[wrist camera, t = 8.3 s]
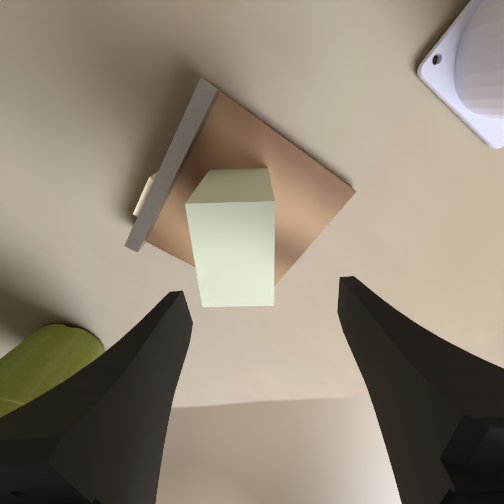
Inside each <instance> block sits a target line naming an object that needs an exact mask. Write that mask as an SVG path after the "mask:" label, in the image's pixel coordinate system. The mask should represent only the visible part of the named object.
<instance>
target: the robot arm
mask: <svg viewBox="0 0 504 504" xmlns="http://www.w3.org/2000/svg"><path fill="white" fill-rule="evenodd" d="M435 55H437V57H438V60H437V62H436V64H435V65H434V64H433V63H432V59H433V57H434V56H435ZM417 75H418V77H419V78H420V79H421V80H422V81H423V82H424V83H425V84H426V85H427V86H428V87H429V88H430V89H431V90H432V91H433V92H434V93H435V94H436V95H437V96H438V97H439V98H440V99H441V100H442V101H443V102H444V103H445V104H446V105H447V106H448V107H449V108H450V109H451V110H452V111H454V112H455V113H456V114H457V115H458V116H459V117H460V118H461V119H462V120H463V121H464V122H465V123H466V124H467V125H468V126H469V127H470V128H471V129H472V130H473V131H474V132H475V133H476V134H477V135H478V136H479V137H480V138H481V139H482V140H483V141H484V142H485V143H486V144H487V145H488V146H489V147H491V148H495V149H496V148H501V147H503V146H504V0H470V2H469V3H468V4H467V5H466V7H465V8H464V9H463V10H462V12H461V13H460V14H459V15H458V17H457V18H456V19H455V20H454V22H453V23H452V24H451V26H450V27H449V28H448V29H447V31H446V32H445V33H444V34H443V36H442V37H441V38H440V39H439V41H438V42H437V43H436V44H435V46H434V47H433V48H432V50H431V51H430V52H429V53H428V55H427V56H426V57H425V58H424V60H423V61H422V62H421V63H420V65H419V67H418V70H417ZM338 315H339V319H340V322H341V326H342V329H343V332H344V335H345V337H346V339H347V342H348V344H349V346H350V349H351V351H352V353H353V356H354V358H355V360H356V362H357V365H358V367H359V369H360V372H361V374H362V376H363V378H364V381H365V383H366V386H367V389H368V391H369V394H370V397H371V401H372V403H373V407H374V409H375V412H376V416H377V419H378V422H379V426H380V429H381V432H382V435H383V438H384V442H385V445H386V449H387V452H388V455H389V459H390V462H391V466H392V469H393V473H394V476H395V480H396V484H397V487H398V491H399V495H400V498H401V502H402V504H504V369H503V368H501V367H499V366H497V365H494V364H492V363H490V362H488V361H485V360H483V359H481V358H479V357H477V356H475V355H473V354H471V353H469V352H467V351H465V350H463V349H461V348H459V347H457V346H455V345H453V344H451V343H449V342H447V341H446V340H444V339H442V338H440V337H438V336H437V335H435V334H433V333H431V332H430V331H428V330H426V329H425V328H423V327H421V326H420V325H418V324H417V323H415V322H413V321H412V320H410V319H409V318H408V317H406V316H405V315H403V314H402V313H400V312H399V311H397V310H396V309H395V308H393V307H392V306H391V305H389V304H388V303H387V302H385V301H384V300H383V299H381V298H380V297H379V296H377V295H376V294H375V293H374V292H373V291H371V290H370V289H369V288H368V287H366V286H365V285H364V284H363V283H362V282H360V281H359V280H358V279H357V278H355V277H354V276H350V277H340V281H339V297H338ZM192 325H193V322H192V319H191V315H190V312H189V309H188V306H187V303H186V300H185V296H184V293H183V291H174V292H169V293H168V294H167V295H166V296H165V297H164V298H163V299H162V300H161V301H160V302H159V303H158V304H157V305H156V306H155V307H154V308H153V309H152V310H151V311H150V312H149V313H148V314H147V315H146V316H145V317H144V318H143V319H142V320H141V321H140V322H139V323H138V324H137V325H136V326H135V327H133V328H132V329H131V330H130V331H129V332H128V333H127V334H126V335H125V336H124V337H122V338H121V339H120V340H119V341H118V342H117V343H116V344H114V345H113V346H112V347H111V348H109V349H108V350H107V351H106V352H104V353H103V354H102V355H100V356H99V357H98V358H97V359H95V360H94V361H92V362H91V363H90V364H88V365H87V366H85V367H84V368H82V369H81V370H80V371H78V372H77V373H75V374H74V375H72V376H71V377H69V378H68V379H66V380H65V381H63V382H62V383H60V384H58V385H57V386H55V387H54V388H52V389H50V390H49V391H47V392H45V393H44V394H42V395H40V396H39V397H37V398H35V399H33V400H32V401H30V402H28V403H26V404H25V405H23V406H21V407H19V408H17V409H15V410H13V411H12V412H10V413H8V414H6V415H4V416H2V417H1V418H0V504H155V502H156V494H157V487H158V480H159V473H160V466H161V461H162V454H163V448H164V443H165V437H166V431H167V426H168V421H169V416H170V411H171V406H172V401H173V397H174V393H175V389H176V386H177V383H178V380H179V376H180V373H181V370H182V367H183V363H184V360H185V357H186V353H187V350H188V347H189V343H190V338H191V332H192Z"/></svg>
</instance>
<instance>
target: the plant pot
mask: <svg viewBox="0 0 504 504" xmlns="http://www.w3.org/2000/svg"><path fill="white" fill-rule="evenodd" d="M104 352H105V351H104V348H103V346H102V344H101V343H100V341H99V340H98V339H97V338H96V337H94V336H93V335H92V334H90V333H89V332H87V331H85V330H83V329H81V328H71V327H67V326H65V325H64V324H51V325H47V326H44V327H42V328H40V329H39V330H37V331H36V332H35V333H33V334H32V335H31V336H29V337H28V338H27V339H25V340H24V341H23V342H22V343H20V344H19V345H18V346H16V347H15V348H14V349H13V350H11V351H10V352H9V353H7V354H6V355H5V356H4V357H2V358H1V359H0V418H1V417H2V416H4V415H6V414H8V413H10V412H12V411H13V410H15V409H17V408H19V407H21V406H23V405H25V404H26V403H28V402H30V401H32V400H33V399H35V398H37V397H39V396H40V395H42V394H44V393H45V392H47V391H49V390H50V389H52V388H54V387H55V386H57V385H58V384H60V383H62V382H63V381H65V380H66V379H68V378H69V377H71V376H72V375H74V374H75V373H77V372H78V371H80V370H81V369H82V368H84V367H85V366H87V365H88V364H90V363H91V362H92V361H94V360H95V359H97V358H98V357H99V356H100V355H102V354H103V353H104Z"/></svg>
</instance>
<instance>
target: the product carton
mask: <svg viewBox="0 0 504 504" xmlns="http://www.w3.org/2000/svg"><path fill="white" fill-rule="evenodd" d="M185 207H186V213H187V219H188V225H189V231H190V237H191V243H192V249H193V255H194V261H195V267H196V273H197V279H198V284H199V290H200V296H201V302H202V307H224V306H274V255H275V198H274V193H273V188H272V184H271V179H270V174H269V169H268V168H252V169H220V170H209V171H208V173H207V174H206V175H205V177H204V178H203V179H202V181H201V182H200V184H199V185H198V186H197V188H196V189H195V190H194V192H193V193H192V195H191V196H190V197H189V199H188V200H187V201H186V203H185Z"/></svg>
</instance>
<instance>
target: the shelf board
mask: <svg viewBox="0 0 504 504" xmlns="http://www.w3.org/2000/svg"><path fill="white" fill-rule="evenodd" d="M252 168H268V169H269V174H270V179H271V184H272V188H273V193H274V198H275V255H274V286H275V285H276V284H277V283H278V281H279V280H280V279H281V278H282V277H283V276H284V275H285V273H286V272H287V271H288V270H289V269H290V268H291V266H292V265H293V264H294V263H295V262H296V261H297V260H298V258H299V257H300V256H301V255H302V254H303V253H304V251H305V250H306V249H307V248H308V247H309V246H310V245H311V243H312V242H313V241H314V240H315V239H316V238H317V236H318V235H319V234H320V233H321V232H322V231H323V230H324V228H325V227H326V226H327V225H328V224H329V223H330V221H331V220H332V219H333V218H334V217H335V216H336V215H337V213H338V212H339V211H340V210H341V209H342V208H343V206H344V205H345V204H346V203H347V202H348V201H349V200H350V198H351V197H352V196H353V195H354V194H355V193H356V191H355V190H354V189H353V188H352V187H350V186H349V185H348V184H346V183H345V182H344V181H342V180H341V179H339V178H338V177H337V176H335V175H334V174H333V173H331V172H330V171H329V170H327V169H326V168H325V167H323V166H322V165H320V164H319V163H318V162H316V161H315V160H314V159H312V158H311V157H310V156H308V155H307V154H306V153H304V152H303V151H301V150H300V149H299V148H297V147H296V146H295V145H293V144H292V143H291V142H289V141H288V140H287V139H285V138H284V137H282V136H281V135H280V134H278V133H277V132H276V131H274V130H273V129H272V128H270V127H269V126H268V125H266V124H265V123H263V122H262V121H261V120H259V119H258V118H257V117H255V116H254V115H253V114H251V113H250V112H249V111H247V110H246V109H244V108H243V107H242V106H240V105H239V104H238V103H236V102H235V101H234V100H232V99H231V98H229V97H228V96H227V95H225V94H224V93H223V92H221V91H220V90H219V89H217V88H216V87H215V86H213V85H212V84H210V83H209V82H208V81H206V80H204V79H202V78H200V80H199V82H198V84H197V87H196V89H195V91H194V93H193V95H192V98H191V100H190V102H189V104H188V106H187V109H186V111H185V113H184V115H183V118H182V120H181V122H180V124H179V126H178V129H177V131H176V133H175V135H174V137H173V140H172V142H171V144H170V146H169V148H168V151H167V153H166V155H165V157H164V159H163V162H162V164H161V166H160V168H159V171H158V172H156V173H155V174H153V175H152V176H150V177H149V179H148V181H147V183H146V185H145V188H144V190H143V192H142V195H141V197H140V199H139V201H138V204H137V206H136V208H135V210H134V213H133V215H135V216H137V219H136V221H135V224H134V226H133V228H132V230H131V232H130V235H129V237H128V239H127V241H126V243H125V246H126V247H128V248H130V249H132V250H134V251H136V252H138V251H139V250H140V249H141V248H142V246H143V245H144V244H145V243H146V242H148V243H150V244H152V245H154V246H155V247H157V248H159V249H161V250H163V251H165V252H167V253H169V254H171V255H173V256H175V257H177V258H179V259H181V260H183V261H185V262H187V263H188V264H190V265H192V266H194V267H195V261H194V255H193V249H192V243H191V237H190V231H189V225H188V219H187V213H186V207H185V203H186V201H187V200H188V199H189V197H190V196H191V195H192V193H193V192H194V190H195V189H196V188H197V186H198V185H199V184H200V182H201V181H202V179H203V178H204V177H205V175H206V174H207V173H208V171H209V170H220V169H252Z"/></svg>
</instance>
